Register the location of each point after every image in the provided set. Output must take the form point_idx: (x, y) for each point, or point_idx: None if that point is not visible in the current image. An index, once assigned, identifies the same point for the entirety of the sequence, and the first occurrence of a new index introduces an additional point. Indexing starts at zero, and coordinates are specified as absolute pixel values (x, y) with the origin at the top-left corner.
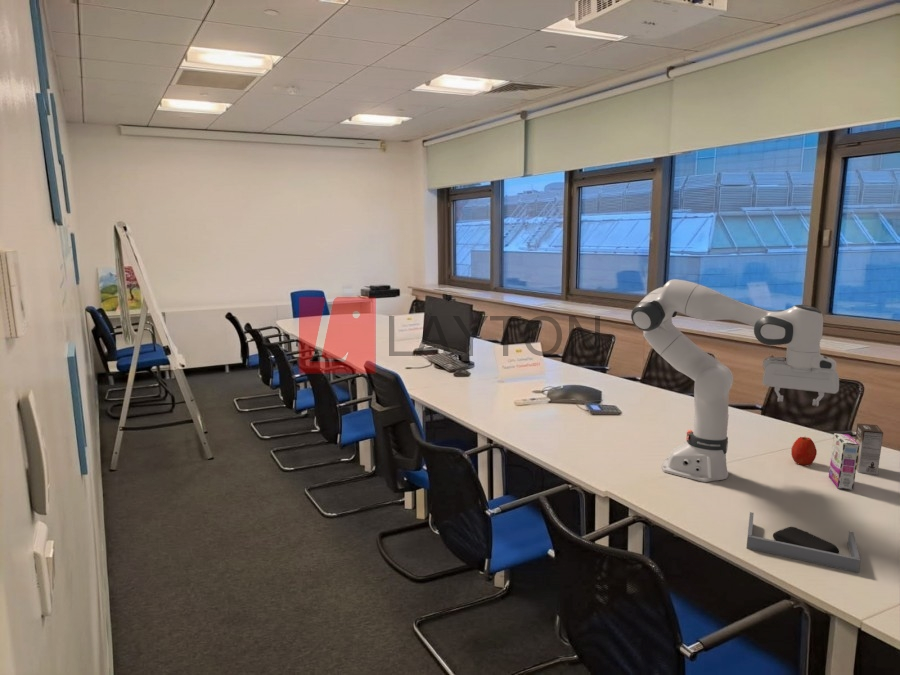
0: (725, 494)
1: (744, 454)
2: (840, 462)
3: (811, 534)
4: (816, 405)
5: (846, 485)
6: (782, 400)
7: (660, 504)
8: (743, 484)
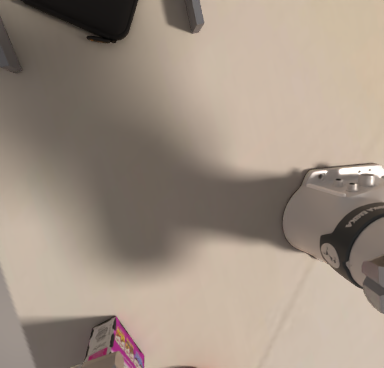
0: (267, 142)
1: (282, 344)
2: None
3: (73, 9)
4: (83, 365)
5: (101, 328)
6: (379, 263)
7: (351, 2)
8: (252, 213)
